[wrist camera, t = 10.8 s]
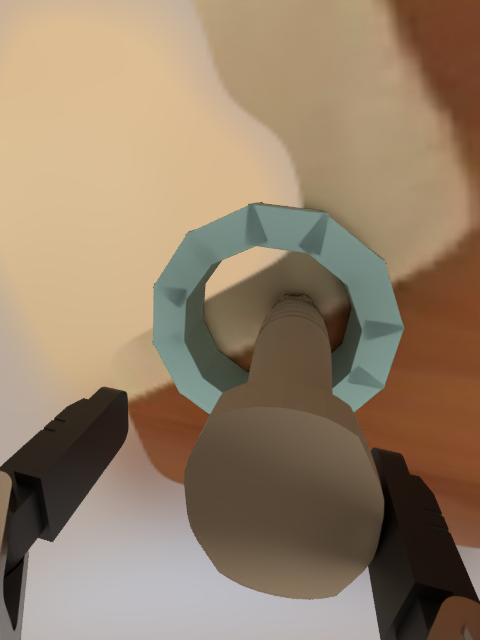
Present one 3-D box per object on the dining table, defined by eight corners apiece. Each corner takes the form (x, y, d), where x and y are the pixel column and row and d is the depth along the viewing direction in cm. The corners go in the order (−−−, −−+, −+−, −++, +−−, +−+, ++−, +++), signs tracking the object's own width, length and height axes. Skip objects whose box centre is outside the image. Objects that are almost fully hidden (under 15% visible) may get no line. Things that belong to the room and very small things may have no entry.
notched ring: (180, 191, 20) (153, 190, 16) (412, 221, 18) (439, 226, 15) (173, 379, 25) (151, 410, 22) (352, 416, 24) (361, 456, 20)
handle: (260, 353, 23) (194, 578, 9) (260, 267, 21) (174, 397, 7) (328, 358, 22) (364, 614, 9) (335, 268, 20) (402, 419, 6)
